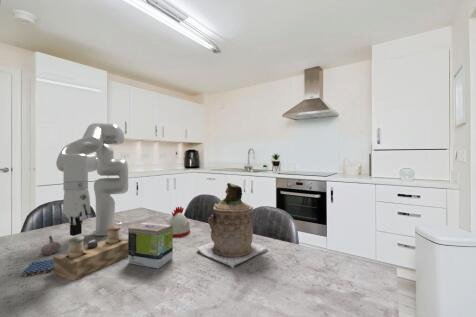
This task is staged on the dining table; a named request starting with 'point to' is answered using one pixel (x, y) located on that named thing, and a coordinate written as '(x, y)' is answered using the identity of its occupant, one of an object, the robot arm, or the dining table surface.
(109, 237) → the knob terracotta
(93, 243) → the dial
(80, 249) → the knob sage
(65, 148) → the robot arm
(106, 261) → the panel
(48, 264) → the woven mat
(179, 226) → the kitchen timer
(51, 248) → the garlic bulb
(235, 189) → the cookie jar
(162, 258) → the tea box
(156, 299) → the dining table surface
